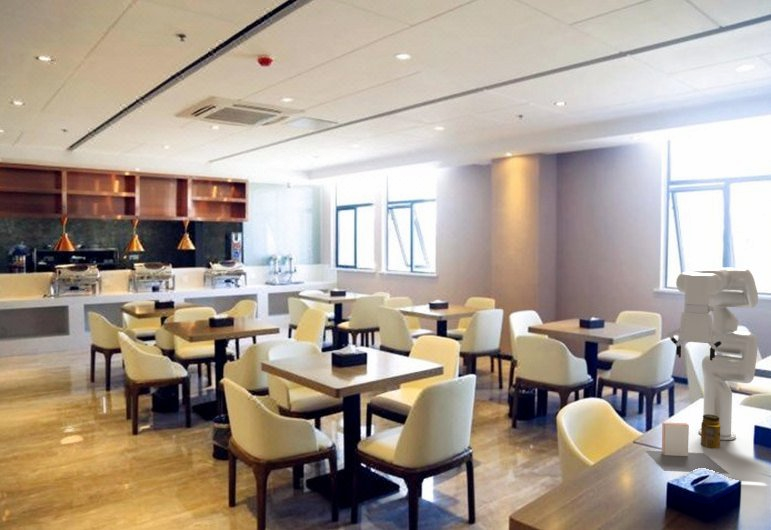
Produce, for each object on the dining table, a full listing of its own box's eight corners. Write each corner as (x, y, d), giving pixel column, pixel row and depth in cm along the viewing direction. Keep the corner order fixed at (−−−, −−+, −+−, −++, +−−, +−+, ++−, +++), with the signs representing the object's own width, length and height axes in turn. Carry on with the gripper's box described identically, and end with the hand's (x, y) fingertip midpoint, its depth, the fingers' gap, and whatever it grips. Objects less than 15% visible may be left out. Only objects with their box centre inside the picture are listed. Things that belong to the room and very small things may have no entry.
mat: (644, 453, 200) (645, 450, 200) (704, 455, 198) (704, 453, 198) (664, 473, 182) (664, 470, 182) (729, 476, 180) (729, 473, 180)
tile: (661, 453, 198) (662, 422, 197) (685, 454, 197) (686, 423, 196) (664, 455, 195) (664, 424, 195) (688, 456, 194) (689, 425, 194)
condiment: (724, 449, 205) (725, 417, 204) (713, 454, 200) (713, 420, 200) (704, 443, 211) (705, 412, 210) (692, 447, 206) (693, 415, 206)
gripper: (724, 310, 194) (723, 359, 194) (669, 307, 202) (667, 354, 202) (726, 312, 187) (724, 362, 188) (668, 308, 195) (667, 357, 196)
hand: (695, 358), depth 195 cm, fingers open, 9 cm apart
